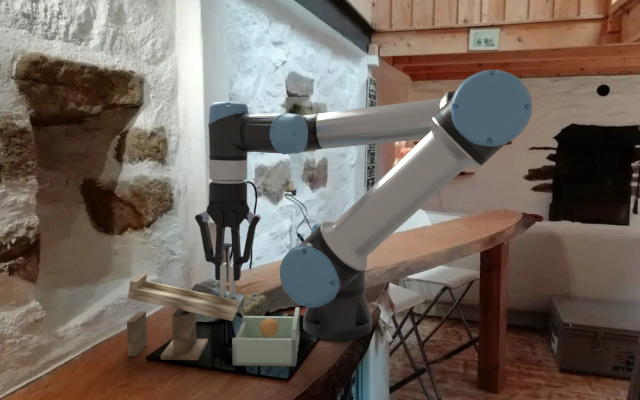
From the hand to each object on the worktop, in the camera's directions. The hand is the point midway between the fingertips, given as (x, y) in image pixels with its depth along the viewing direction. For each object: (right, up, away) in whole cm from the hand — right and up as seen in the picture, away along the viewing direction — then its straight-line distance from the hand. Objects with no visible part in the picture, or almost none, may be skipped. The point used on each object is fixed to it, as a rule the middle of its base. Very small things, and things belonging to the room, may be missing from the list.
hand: (228, 295), depth 103 cm
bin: (+9, -10, -5) cm, 14 cm away
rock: (+3, -8, +16) cm, 18 cm away
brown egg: (+9, -5, -6) cm, 12 cm away
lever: (-7, -1, -3) cm, 8 cm away
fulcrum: (-11, -10, -5) cm, 15 cm away
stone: (-7, -8, +13) cm, 17 cm away
